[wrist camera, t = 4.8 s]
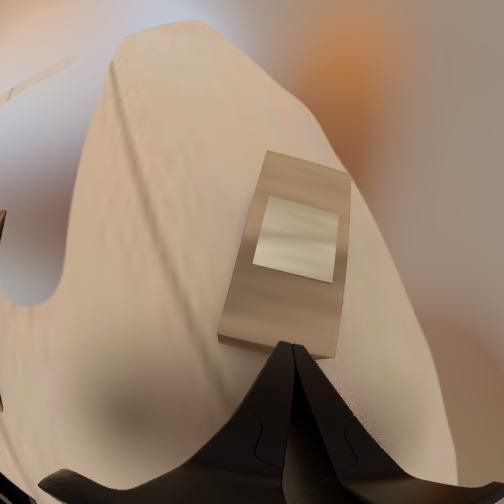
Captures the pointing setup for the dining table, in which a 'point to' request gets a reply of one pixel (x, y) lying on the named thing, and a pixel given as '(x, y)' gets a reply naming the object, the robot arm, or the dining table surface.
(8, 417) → the dining table surface
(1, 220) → the sunglasses case
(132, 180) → the dining table surface
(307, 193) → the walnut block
